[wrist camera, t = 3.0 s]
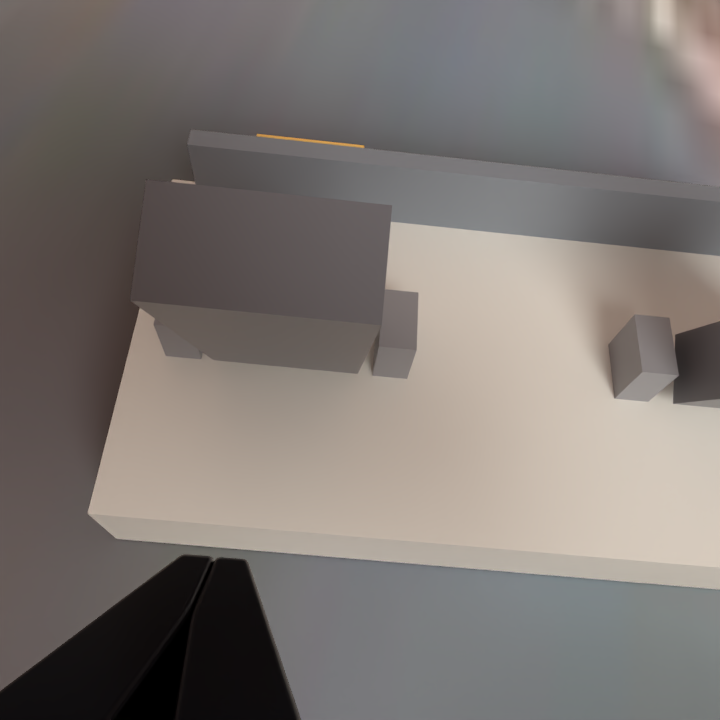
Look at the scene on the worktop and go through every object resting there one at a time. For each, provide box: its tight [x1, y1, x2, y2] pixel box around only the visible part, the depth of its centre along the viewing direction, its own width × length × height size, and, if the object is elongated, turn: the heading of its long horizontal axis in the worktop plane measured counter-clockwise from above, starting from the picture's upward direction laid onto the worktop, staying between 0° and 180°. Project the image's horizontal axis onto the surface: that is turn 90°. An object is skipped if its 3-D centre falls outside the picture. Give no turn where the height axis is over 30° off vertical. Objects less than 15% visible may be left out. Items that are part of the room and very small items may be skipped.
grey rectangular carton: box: [130, 179, 392, 374], centre depth 15 cm, size 2×4×8 cm, turn 86°
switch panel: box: [88, 129, 720, 589], centre depth 20 cm, size 11×22×6 cm, turn 86°
